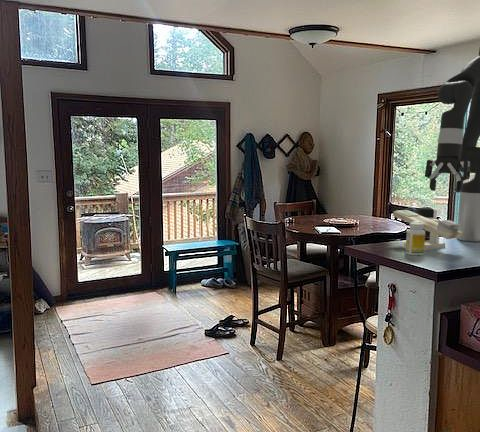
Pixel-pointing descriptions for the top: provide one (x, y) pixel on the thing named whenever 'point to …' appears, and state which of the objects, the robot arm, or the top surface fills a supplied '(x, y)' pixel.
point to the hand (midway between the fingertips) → (445, 191)
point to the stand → (432, 240)
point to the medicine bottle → (430, 214)
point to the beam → (431, 224)
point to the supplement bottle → (415, 239)
